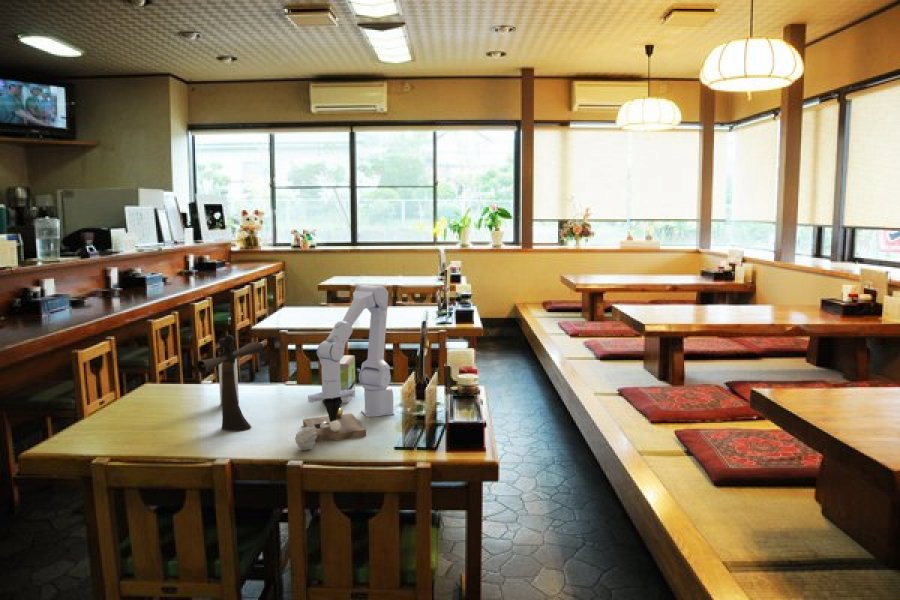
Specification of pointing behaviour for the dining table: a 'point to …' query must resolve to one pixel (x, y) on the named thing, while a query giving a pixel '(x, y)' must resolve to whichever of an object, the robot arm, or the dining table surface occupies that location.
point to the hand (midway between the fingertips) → (332, 421)
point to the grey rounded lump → (306, 438)
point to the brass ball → (339, 412)
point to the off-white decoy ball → (335, 426)
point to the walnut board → (347, 430)
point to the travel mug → (234, 376)
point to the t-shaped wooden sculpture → (230, 381)
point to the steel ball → (324, 425)
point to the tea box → (347, 374)
